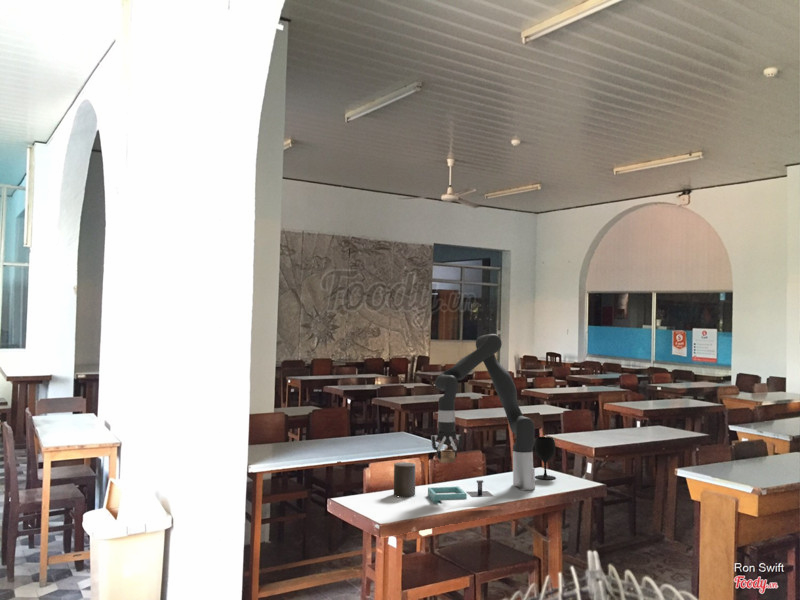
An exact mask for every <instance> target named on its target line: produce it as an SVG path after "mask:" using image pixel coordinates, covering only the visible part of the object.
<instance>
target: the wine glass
mask: <svg viewBox="0 0 800 600" xmlns="http://www.w3.org/2000/svg"><path fill="white" fill-rule="evenodd" d="M556 447H557V446H556V442H555V439H554V437H553V436H537V437H536V436H535V439H534V446H533V448H534V452H535V454H536V456H537V457H538V458H539V459H540V461H542V462H543V467H544V468H543V470H544V472H543V474H540V475H539V474H538V475H535V480H541V481H554V480H556V478H557V477H556V476H553V475H548V473H547V464H548V462H549V461H550V460H551V459H552V458H553V457H554V455H555V454H556V450H557V449H556Z"/></svg>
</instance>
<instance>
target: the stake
mask: <svg viewBox="0 0 800 600" xmlns="http://www.w3.org/2000/svg"><path fill="white" fill-rule="evenodd" d="M476 483H477V491H466V494H467V495H469V496H470V497H472V498H487V497H490V498H491V497H494V494H493V493H491V492H489V491H488V490H484V491H483V483H484V480H483V479H481V480H480V479H479V480H476Z"/></svg>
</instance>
